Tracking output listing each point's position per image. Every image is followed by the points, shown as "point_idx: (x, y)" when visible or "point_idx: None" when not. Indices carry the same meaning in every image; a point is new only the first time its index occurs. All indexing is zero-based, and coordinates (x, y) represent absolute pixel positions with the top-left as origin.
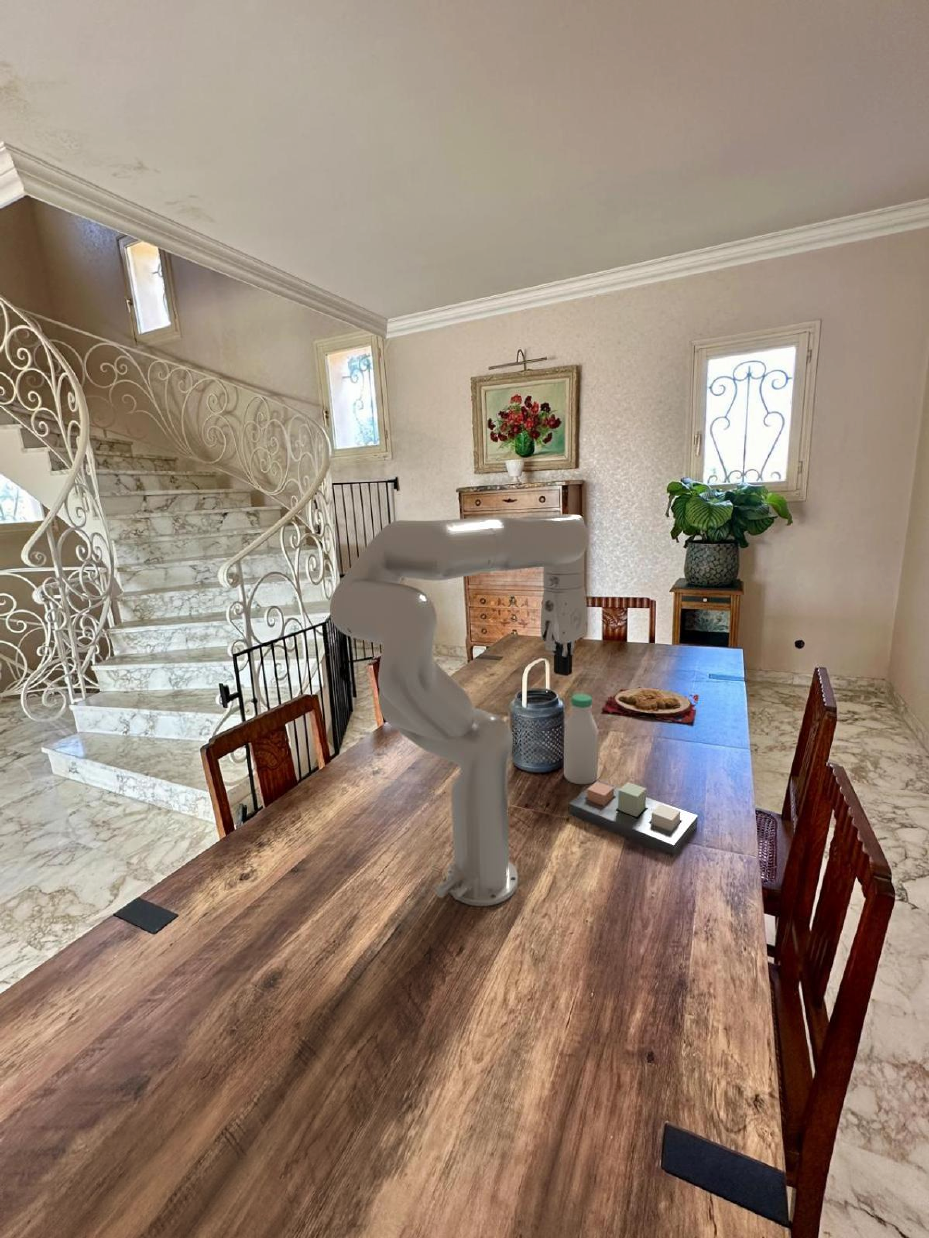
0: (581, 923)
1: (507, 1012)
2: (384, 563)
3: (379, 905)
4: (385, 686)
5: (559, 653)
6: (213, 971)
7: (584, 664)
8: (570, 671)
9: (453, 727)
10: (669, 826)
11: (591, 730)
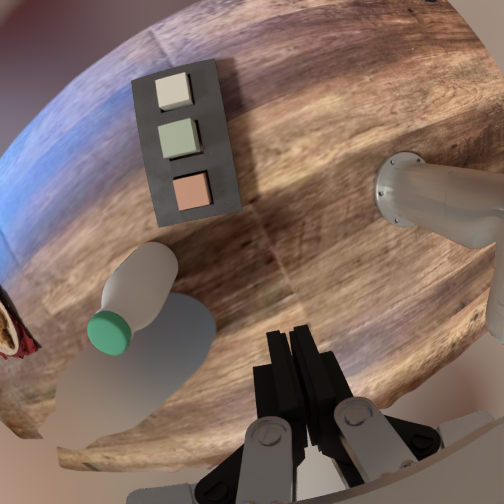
0: (376, 81)
1: (456, 89)
2: None
3: None
4: None
5: (389, 419)
6: None
7: (18, 408)
8: (280, 338)
9: None
10: (187, 78)
11: (126, 278)
